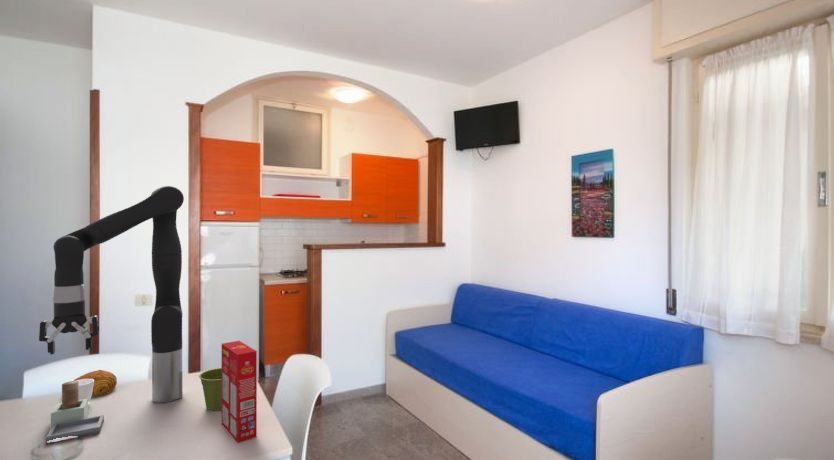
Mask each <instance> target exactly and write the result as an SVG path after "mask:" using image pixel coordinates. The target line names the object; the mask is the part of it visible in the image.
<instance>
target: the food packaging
mask: <svg viewBox="0 0 834 460" xmlns="http://www.w3.org/2000/svg"><path fill="white" fill-rule="evenodd" d="M257 357H258V356H257V350H256V349H255V348H252V347H251V346H249V345H247V344H246V343H244V342H242V341H240V340H235V341H230V342H224V343H221V368H222V409H221V425H222V427H223V428H224V429H225V430H226V432H227V433H229V435H230V436H231V437H232V438H233V439H234V441H235V442H236V443H237V444H239V443H242V442H244V441H248V440H251V439H255V438H257V437H258V436H257V434H258V433H257V428H258V427H257V424H258V423H257V418H258V417H257V403H258V402H257V401H258V400H257V395H258V393H257V392H258V390H257V386H258V385H257V383H258V382H257V381H258V380H257V379H258V377H257V367H258V366H257V359H258V358H257Z"/></svg>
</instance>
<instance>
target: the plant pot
mask: <svg viewBox="0 0 834 460" xmlns="http://www.w3.org/2000/svg"><path fill="white" fill-rule="evenodd" d="M198 378H199V380H200V382H201V385H202V390H203V396H204V402H205V408H206V409H207V410H210V411H220V410H221V411H222V367H217V368H211V369H208V370H205V371H203V372H201V373H200V374H199V375H198Z"/></svg>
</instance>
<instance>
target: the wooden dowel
mask: <svg viewBox="0 0 834 460" xmlns="http://www.w3.org/2000/svg"><path fill="white" fill-rule="evenodd" d="M61 403H62V410H64V409H70V408H76V407H79V382H78V381H74V380H71V381H67V382H64V383H62V384H61Z"/></svg>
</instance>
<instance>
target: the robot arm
mask: <svg viewBox="0 0 834 460" xmlns="http://www.w3.org/2000/svg"><path fill="white" fill-rule="evenodd" d="M184 200H185V199H184V193H183V192H182V191H181V190H180V189H179V188H178V187H175V186H171V185H164V186H160V187H157V188H156V189H154V190H153V191H152V192H151V194H150V196H148V197H147V198H145V199H143V200H141V201H139V202H138V203H136V204H133V205H131V206H129V207H127V208H124V209H121V210H119V211H117V212H113V213H112V214H109V215H106V216H105V217H104V216H103V218H100V219H97V220H96V221H94V222H92V223H91V222H90V224H88V225H85V227H82V228H80V229H78V230H74V231H73V232H70V233H68V234H66V235H63V236H61V237H58V239H56V240H55V242H54V243H53V251H54V263H55V270H54V275H53V276H54V277H53V278H54V280H53V281H54V283H53V284H54V288H53V289H54V290H53V298H52V299H53V300H52V301H53V319H52V320H46V319H44V320H42V321H41V322H40V323H39V331H38V332H39V333H38V334H39V335H38V340H39V341H40V342H45V343H46V344H47V353H48V354H50V355H55V352H56V341H55V339H56V338H57V336H58V335H59V334H60V333H61V334H68V333H77V332H79V333H81V334H82V335H83V336H84V337H85V351H89V350H90V349H91V348H92V347H93V337H94V336H97V335H99V333H100V323H99V317H98V315H93V316H87V315H86V290H85V285H84V284H85V282H84V278H85V277H84V268H83V266H84V256H85V254H84V253H85V251H87V250H89V249H92V248H93V247H95V246H97V245H101V244H104V243H106V242H107V241H110V240H112V239H113V238H116V237H118V236H120V235H121V234H123V233H125V232H127V231H129V230H131V229H133V228H135V227H136V226H138V225H140V224H142V223H144V222H146V221H148V220H150V219H152V238H151V268H152V269H151V270H152V275H153V281H154V282H153V283H154V284H155V304H154V311H153V314H152V315H151V325H150V326H151V327H150V333H151V351H152V352H151V357H152V358H151V359H152V360H151V372H152V373H151V374H152V375H151V377H152V378H151V380H152V381H151V390H152V391H151V400H152V402H154V403H158V404H159V403H168V402H173V401H176V400H178V399H182V398H183V309H182V304H181V295H180V283H181V278H182V270H183V269H182V262H183V257H182V256H183V252H182V251H183V250H182V244H181V240H180V237H179V233H178V229H177V214H178V210H179V209H180V208H181V207H182V205H183V203H184ZM87 322H89V324H92V331H90V330H89V329H88V327H87V326H85V324H86V323H87ZM50 325H52V326H53V327H54V328H55V330H54V331H53V332H52V334H51V335H50V336H47V332H48V328H50V327H51V326H50Z"/></svg>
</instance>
